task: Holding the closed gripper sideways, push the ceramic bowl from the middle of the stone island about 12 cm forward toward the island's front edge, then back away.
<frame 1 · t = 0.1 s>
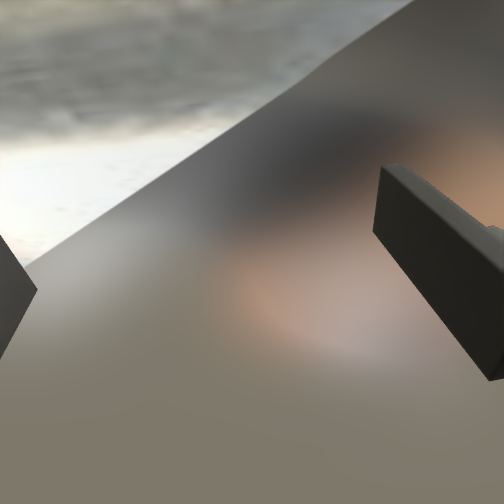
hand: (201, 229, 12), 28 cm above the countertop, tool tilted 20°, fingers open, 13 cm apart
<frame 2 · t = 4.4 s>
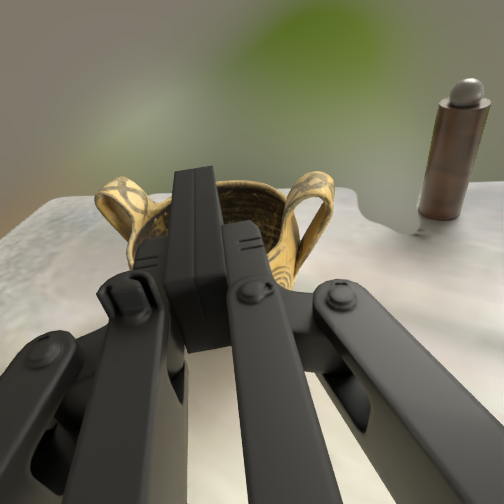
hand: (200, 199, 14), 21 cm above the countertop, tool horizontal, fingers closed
ceramic bowl: (232, 303, 38), on the countertop
pepper mill: (438, 210, 46), on the countertop
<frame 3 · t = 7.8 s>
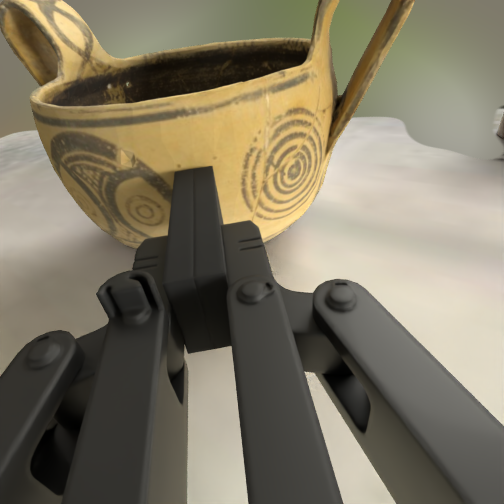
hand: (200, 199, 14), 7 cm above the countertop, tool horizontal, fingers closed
ceramic bowl: (221, 230, 25), on the countertop, touching gripper
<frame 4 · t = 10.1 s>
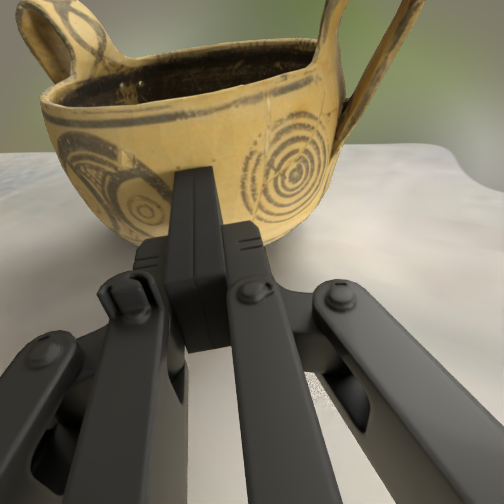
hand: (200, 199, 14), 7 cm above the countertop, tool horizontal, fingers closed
ceramic bowl: (227, 229, 25), on the countertop, touching gripper
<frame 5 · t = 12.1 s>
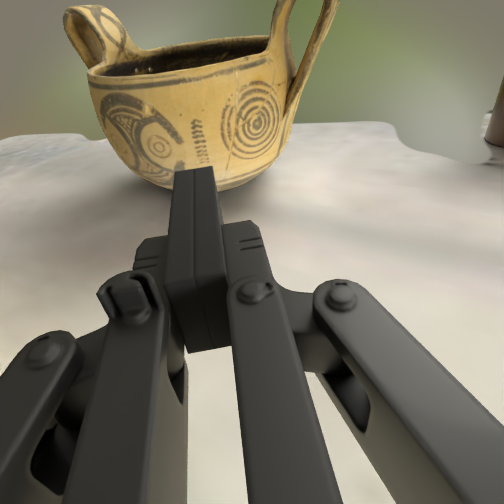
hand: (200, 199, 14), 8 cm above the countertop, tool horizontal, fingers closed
ceramic bowl: (216, 180, 33), on the countertop
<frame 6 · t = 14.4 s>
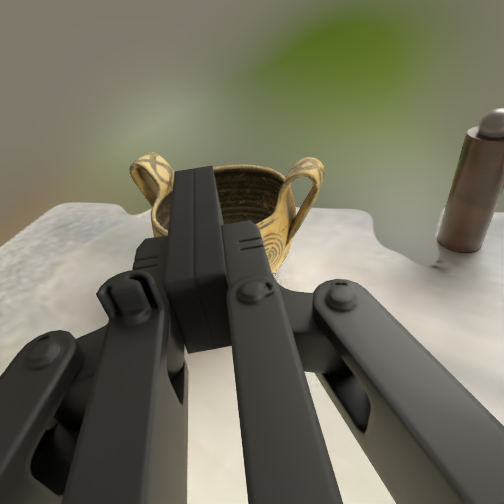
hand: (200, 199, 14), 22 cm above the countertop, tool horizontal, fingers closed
ceramic bowl: (235, 270, 44), on the countertop
pepper mill: (458, 241, 44), on the countertop
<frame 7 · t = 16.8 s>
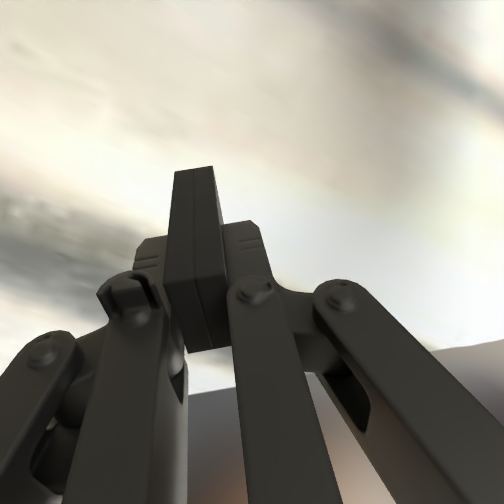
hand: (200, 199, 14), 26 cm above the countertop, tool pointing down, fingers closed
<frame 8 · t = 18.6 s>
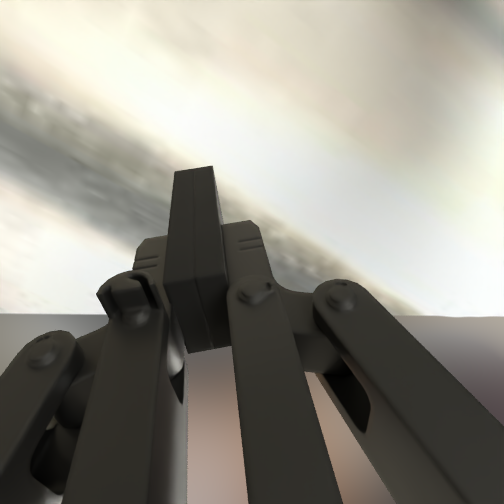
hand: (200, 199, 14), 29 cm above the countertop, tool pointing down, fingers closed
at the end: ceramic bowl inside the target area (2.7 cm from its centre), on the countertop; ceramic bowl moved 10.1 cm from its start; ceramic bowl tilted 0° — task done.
